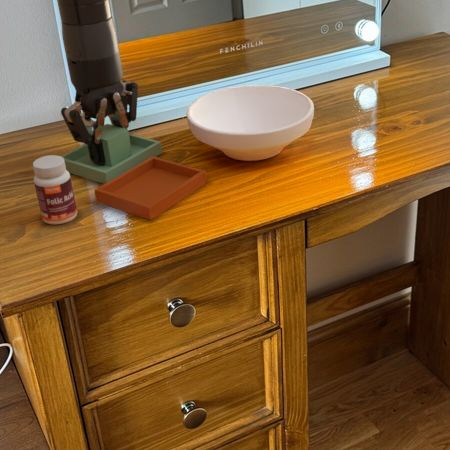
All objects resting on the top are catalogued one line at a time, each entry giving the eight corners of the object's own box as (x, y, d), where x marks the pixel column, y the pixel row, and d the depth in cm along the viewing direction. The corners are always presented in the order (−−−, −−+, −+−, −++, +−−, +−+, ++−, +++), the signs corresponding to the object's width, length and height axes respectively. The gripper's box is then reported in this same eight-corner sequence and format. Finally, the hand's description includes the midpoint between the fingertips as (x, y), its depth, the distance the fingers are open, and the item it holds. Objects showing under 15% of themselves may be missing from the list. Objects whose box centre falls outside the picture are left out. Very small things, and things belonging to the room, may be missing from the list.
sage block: (111, 167, 116) (107, 140, 114) (90, 160, 118) (85, 134, 116) (132, 155, 119) (128, 129, 117) (111, 149, 121) (106, 123, 119)
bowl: (207, 188, 110) (202, 143, 107) (179, 136, 126) (174, 95, 122) (333, 164, 116) (333, 120, 112) (291, 117, 131) (289, 77, 128)
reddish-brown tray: (150, 220, 103) (148, 207, 102) (96, 202, 108) (94, 189, 107) (207, 183, 112) (205, 170, 111) (154, 167, 117) (152, 155, 116)
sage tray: (107, 185, 112) (105, 173, 111) (59, 169, 117) (56, 157, 116) (162, 153, 121) (161, 141, 120) (115, 140, 126) (113, 128, 125)
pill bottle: (52, 229, 102) (39, 173, 97) (36, 216, 105) (23, 161, 100) (84, 216, 104) (73, 161, 100) (67, 204, 108) (56, 150, 103)
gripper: (108, 32, 117) (125, 135, 125) (35, 60, 106) (59, 170, 115) (145, 39, 113) (160, 144, 122) (73, 69, 103) (94, 181, 112)
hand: (111, 156), depth 119 cm, fingers closed on sage block, 4 cm apart
